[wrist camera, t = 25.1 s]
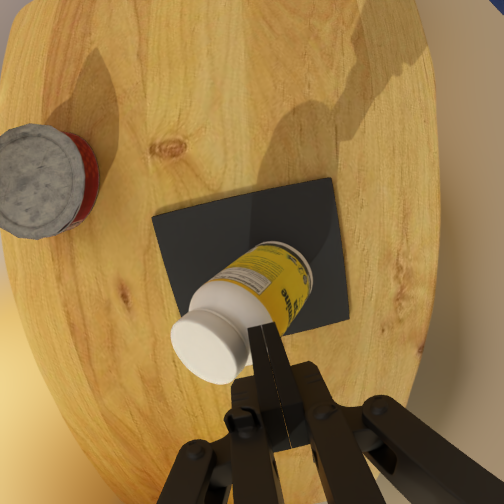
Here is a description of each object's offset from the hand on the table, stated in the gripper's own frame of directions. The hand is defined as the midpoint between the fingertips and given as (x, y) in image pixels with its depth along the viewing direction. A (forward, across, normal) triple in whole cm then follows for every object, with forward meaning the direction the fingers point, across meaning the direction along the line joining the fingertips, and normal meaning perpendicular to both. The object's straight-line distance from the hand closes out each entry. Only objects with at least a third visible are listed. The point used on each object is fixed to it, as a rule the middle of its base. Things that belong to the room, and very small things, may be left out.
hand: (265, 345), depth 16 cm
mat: (+12, +1, +1) cm, 12 cm away
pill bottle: (+9, +3, +1) cm, 10 cm away
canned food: (+12, -16, +14) cm, 24 cm away
